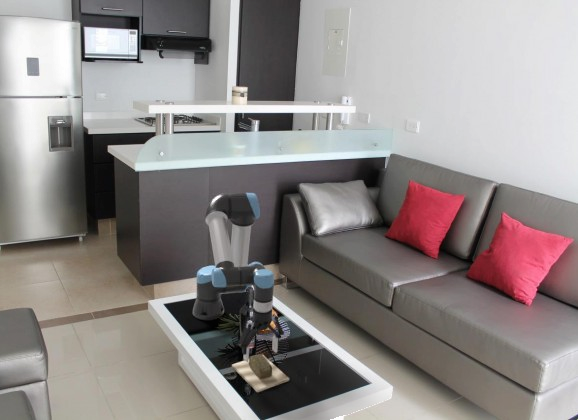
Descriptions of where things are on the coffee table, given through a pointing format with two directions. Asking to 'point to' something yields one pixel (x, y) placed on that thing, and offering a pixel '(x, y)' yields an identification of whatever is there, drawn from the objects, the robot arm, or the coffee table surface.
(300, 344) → the coffee table surface
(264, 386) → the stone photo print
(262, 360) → the stone block
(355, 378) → the coffee table surface
